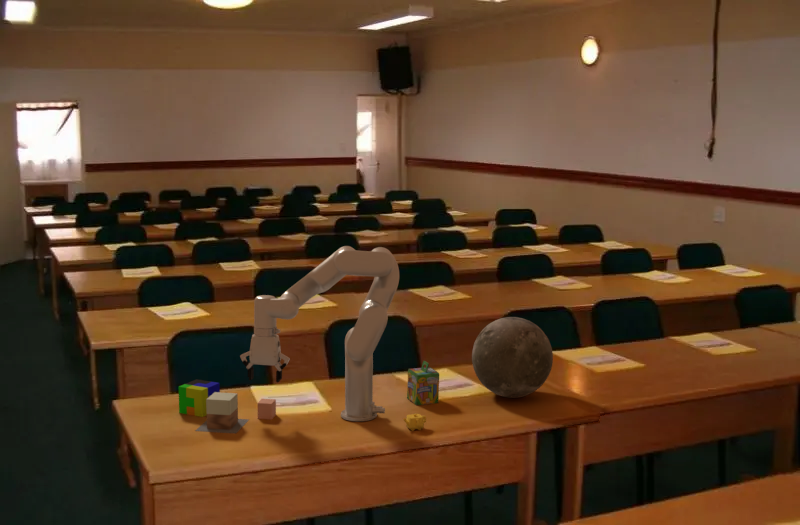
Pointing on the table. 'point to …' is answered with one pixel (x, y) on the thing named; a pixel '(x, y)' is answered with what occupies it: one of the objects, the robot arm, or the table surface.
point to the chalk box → (423, 385)
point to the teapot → (415, 421)
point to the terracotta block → (266, 408)
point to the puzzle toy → (196, 396)
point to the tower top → (222, 403)
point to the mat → (233, 430)
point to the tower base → (222, 420)
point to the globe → (512, 357)
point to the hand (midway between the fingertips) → (264, 380)
